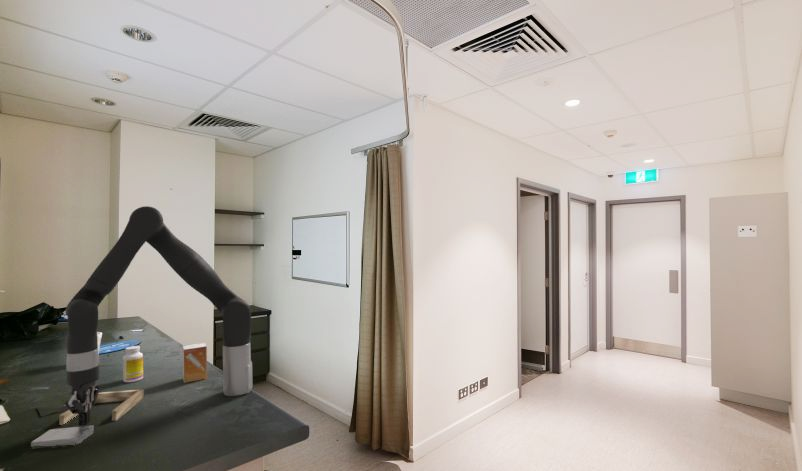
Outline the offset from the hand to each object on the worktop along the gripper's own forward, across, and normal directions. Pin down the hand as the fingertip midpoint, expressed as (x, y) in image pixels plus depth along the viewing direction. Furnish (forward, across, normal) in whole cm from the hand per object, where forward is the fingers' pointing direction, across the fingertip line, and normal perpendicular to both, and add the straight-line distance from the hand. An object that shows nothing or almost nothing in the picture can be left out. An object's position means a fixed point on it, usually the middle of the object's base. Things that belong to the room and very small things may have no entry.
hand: (84, 424), depth 114 cm
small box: (+1, +35, -19) cm, 40 cm away
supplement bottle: (+1, +40, +5) cm, 40 cm away
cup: (+1, +67, +35) cm, 76 cm away
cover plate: (+1, -7, +1) cm, 8 cm away
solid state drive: (+1, +16, +18) cm, 24 cm away
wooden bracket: (+1, +11, 0) cm, 11 cm away
